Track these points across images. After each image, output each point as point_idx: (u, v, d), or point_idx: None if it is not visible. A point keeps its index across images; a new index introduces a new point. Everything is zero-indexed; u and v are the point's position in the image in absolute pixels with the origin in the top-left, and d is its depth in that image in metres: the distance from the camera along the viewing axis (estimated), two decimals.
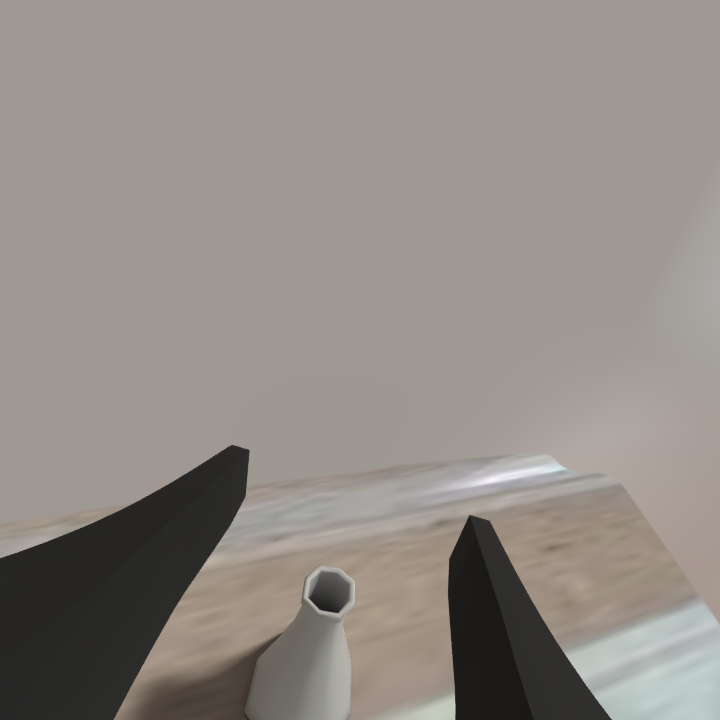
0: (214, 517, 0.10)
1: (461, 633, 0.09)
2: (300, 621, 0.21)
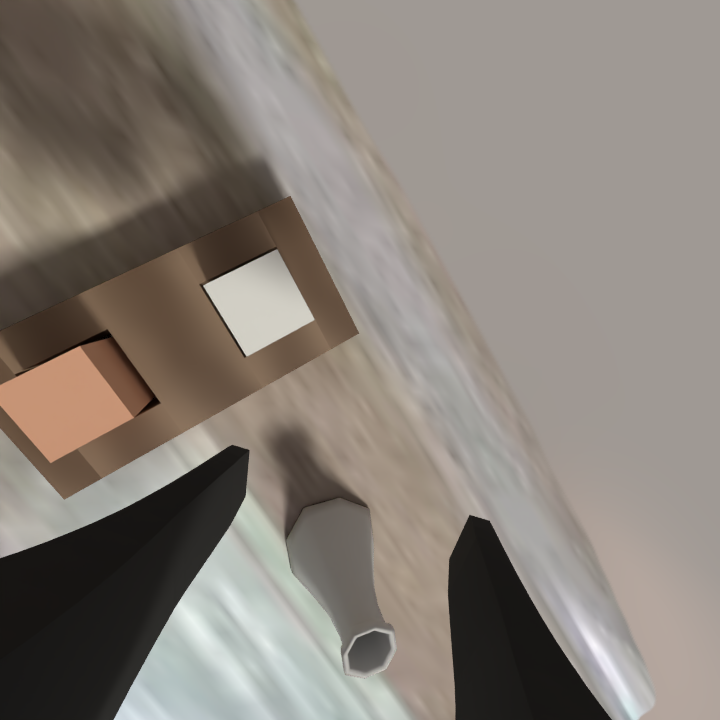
0: (214, 517, 0.10)
1: (461, 633, 0.09)
2: (346, 604, 0.21)
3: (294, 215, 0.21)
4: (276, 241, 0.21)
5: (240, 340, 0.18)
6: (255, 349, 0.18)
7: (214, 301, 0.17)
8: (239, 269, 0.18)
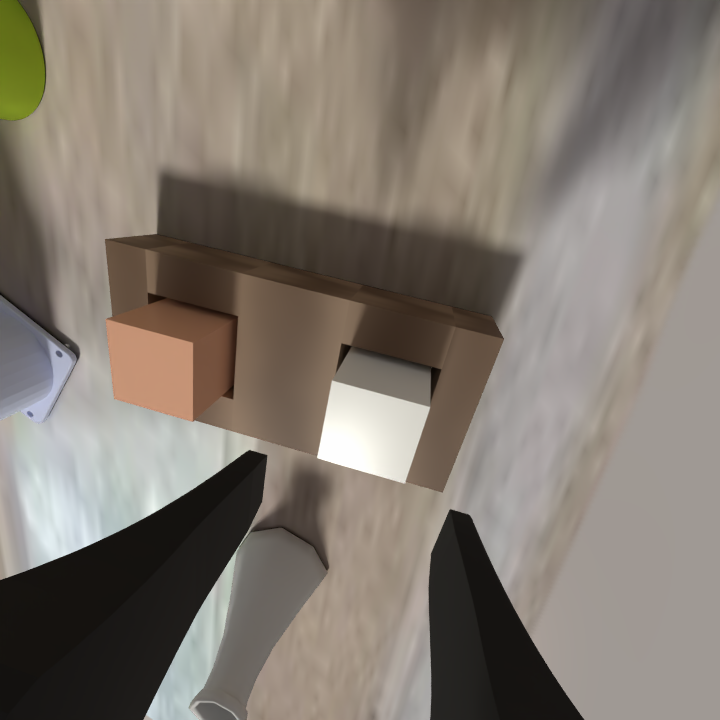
0: (234, 523, 0.10)
1: (439, 626, 0.09)
2: (234, 657, 0.22)
3: (488, 358, 0.16)
4: (447, 366, 0.16)
5: (323, 443, 0.16)
6: (329, 459, 0.16)
7: (329, 399, 0.15)
8: (377, 394, 0.14)
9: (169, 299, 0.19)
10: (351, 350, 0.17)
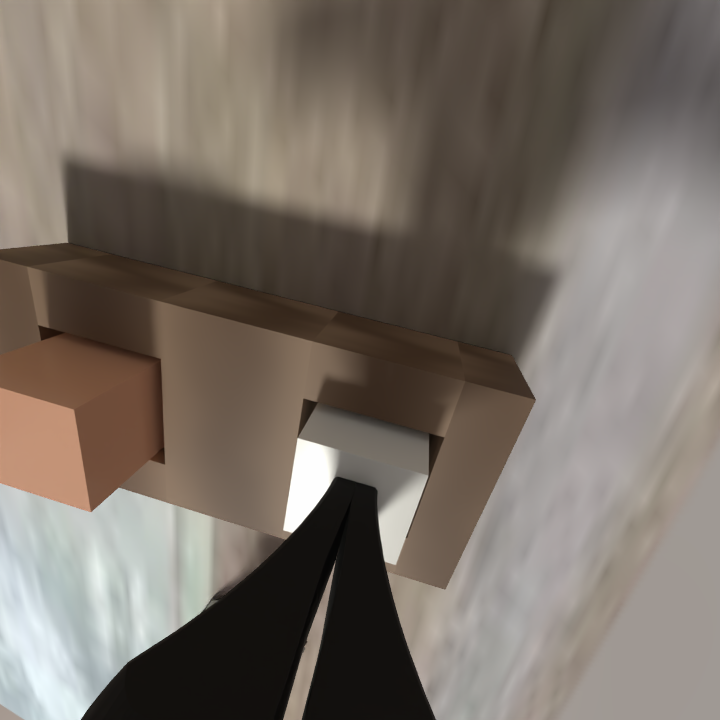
0: (333, 555, 0.10)
1: (331, 591, 0.10)
2: None
3: (512, 425, 0.11)
4: (452, 433, 0.11)
5: (290, 513, 0.12)
6: None
7: (296, 461, 0.11)
8: (357, 457, 0.11)
9: None
10: None
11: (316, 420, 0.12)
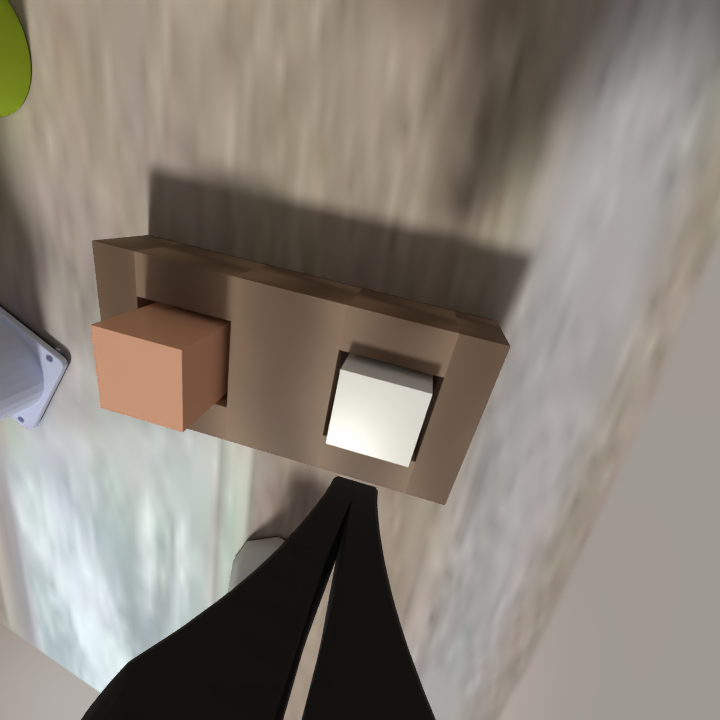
0: (333, 555, 0.10)
1: (331, 591, 0.10)
2: None
3: (493, 367, 0.15)
4: (449, 374, 0.16)
5: (331, 429, 0.17)
6: (337, 444, 0.17)
7: (338, 387, 0.16)
8: (382, 382, 0.15)
9: (160, 303, 0.18)
10: None
11: (351, 360, 0.16)
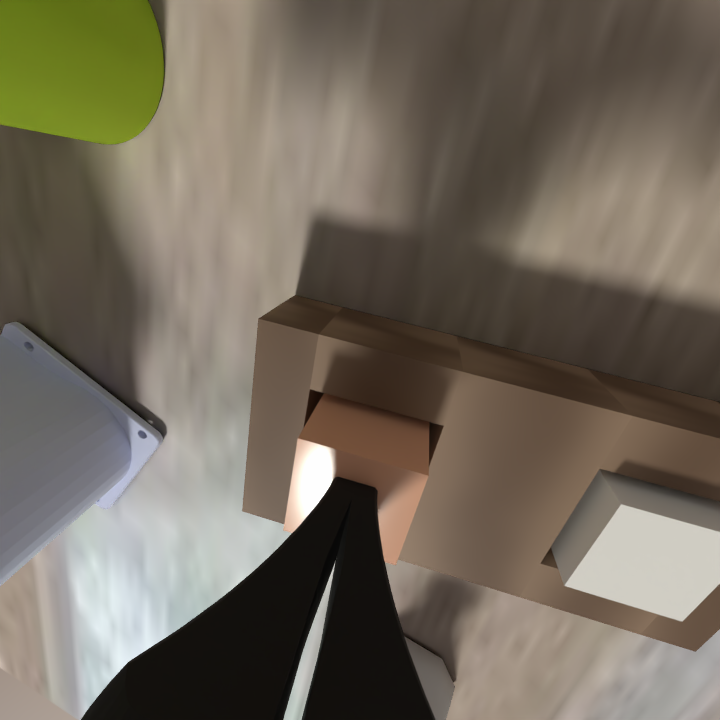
0: (333, 555, 0.10)
1: (331, 591, 0.10)
2: None
3: None
4: None
5: (579, 571, 0.12)
6: (582, 589, 0.13)
7: (609, 525, 0.11)
8: (683, 524, 0.11)
9: None
10: None
11: (613, 481, 0.12)
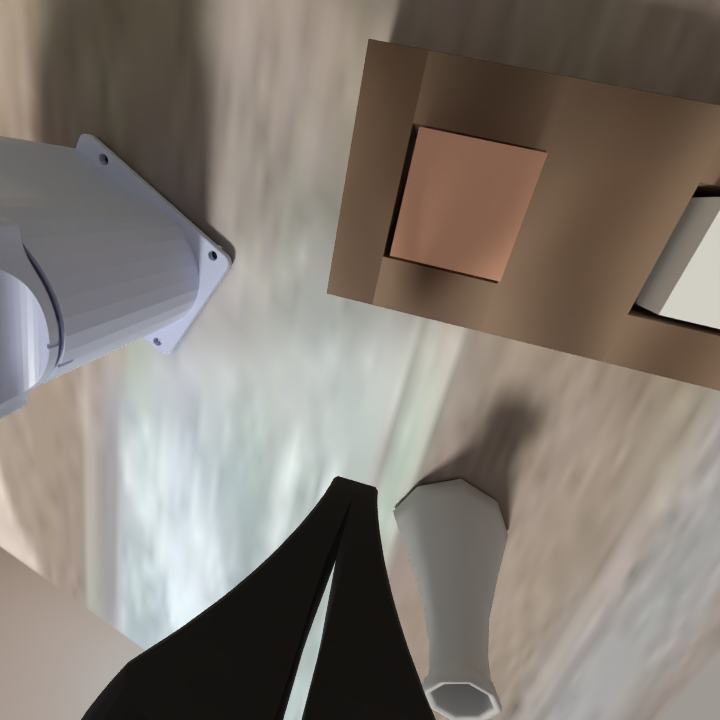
0: (334, 555, 0.10)
1: (331, 591, 0.10)
2: (464, 628, 0.17)
3: None
4: None
5: (676, 292, 0.13)
6: (676, 315, 0.13)
7: (712, 226, 0.12)
8: None
9: None
10: None
11: None
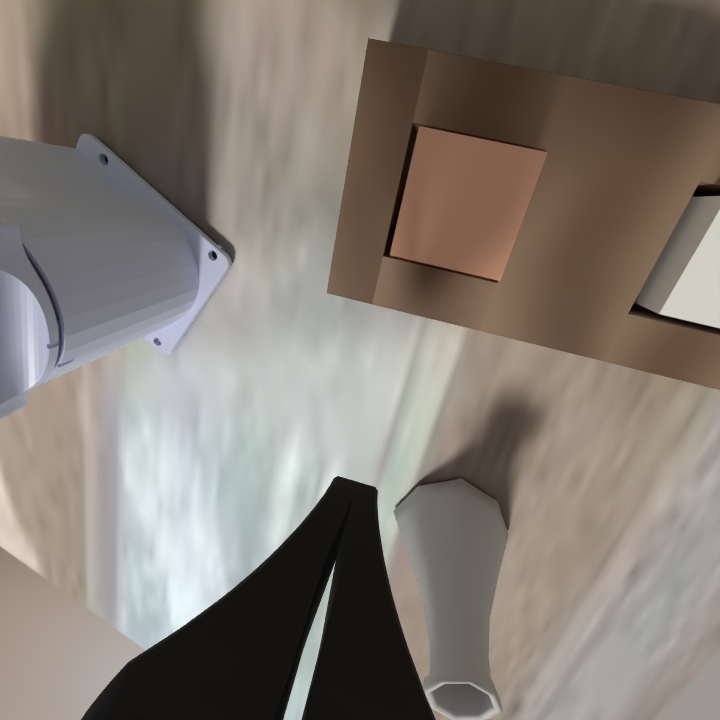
0: (333, 555, 0.10)
1: (331, 591, 0.10)
2: (465, 628, 0.17)
3: None
4: None
5: (676, 291, 0.13)
6: (676, 314, 0.13)
7: (712, 225, 0.12)
8: None
9: None
10: None
11: None
